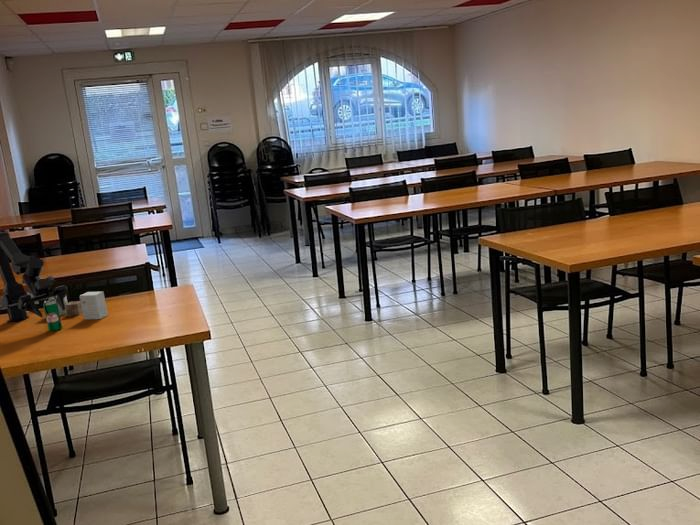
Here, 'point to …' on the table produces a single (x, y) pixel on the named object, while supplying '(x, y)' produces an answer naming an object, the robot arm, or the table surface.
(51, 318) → the soda can
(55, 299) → the sage mug
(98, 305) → the small box
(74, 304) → the walnut block
